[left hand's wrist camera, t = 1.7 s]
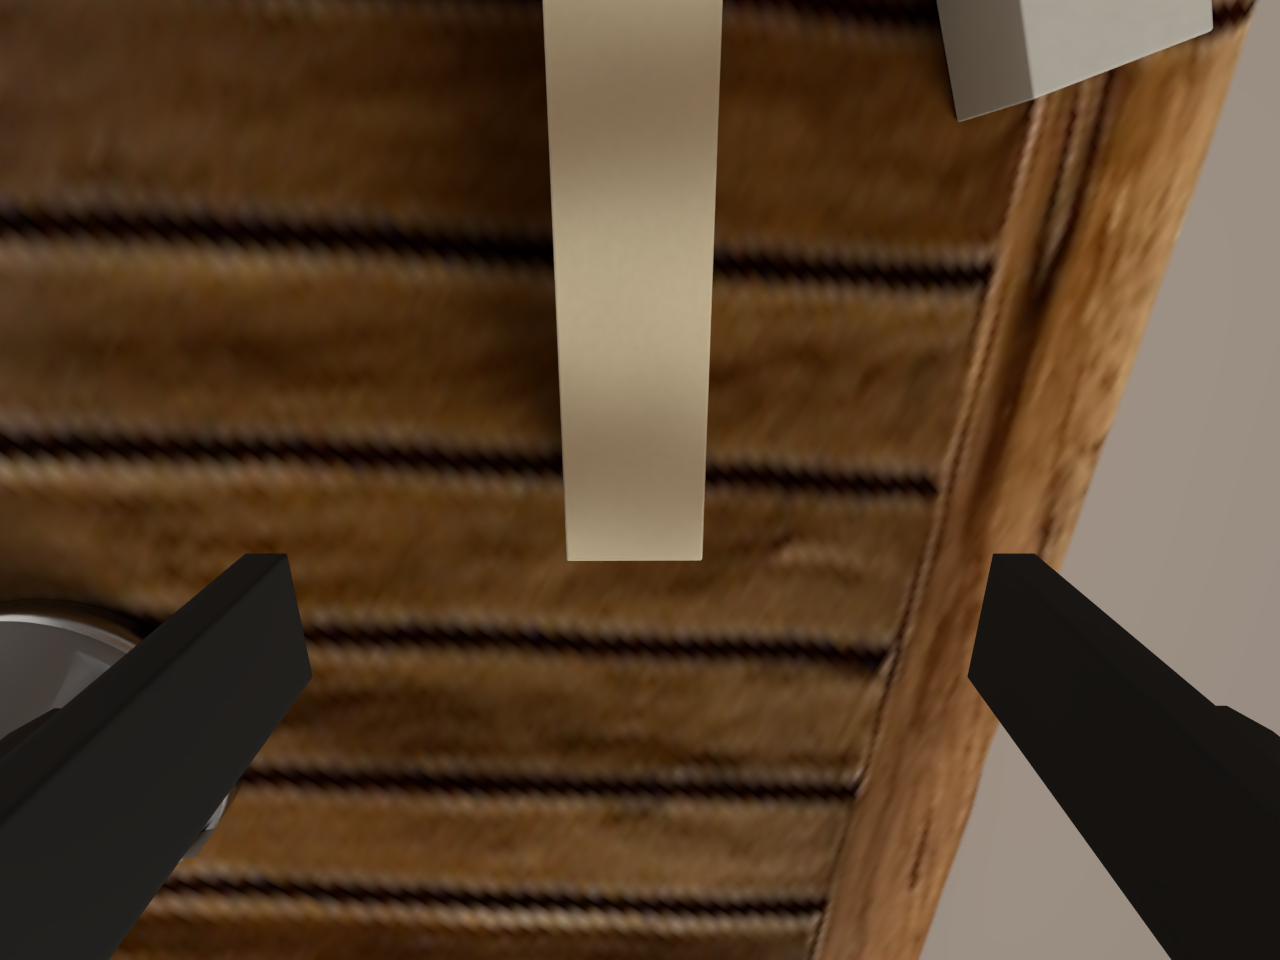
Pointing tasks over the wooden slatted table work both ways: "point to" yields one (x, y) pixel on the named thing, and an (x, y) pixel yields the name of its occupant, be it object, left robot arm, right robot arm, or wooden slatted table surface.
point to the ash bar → (633, 266)
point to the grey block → (1053, 43)
